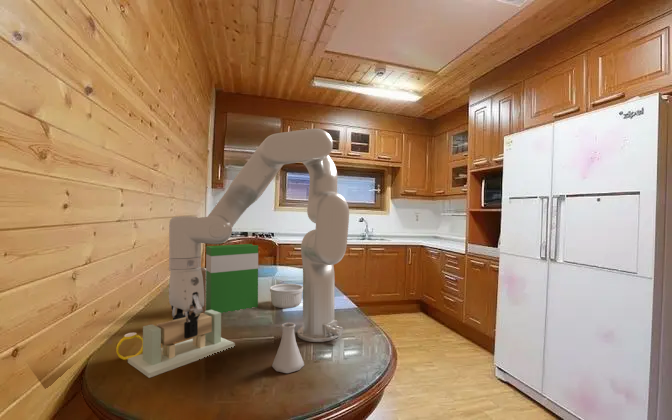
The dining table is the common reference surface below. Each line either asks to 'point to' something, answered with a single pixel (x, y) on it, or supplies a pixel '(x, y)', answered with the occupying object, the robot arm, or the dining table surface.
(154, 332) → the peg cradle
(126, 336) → the watch
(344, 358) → the dining table surface
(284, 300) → the ramekin
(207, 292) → the green cereal box
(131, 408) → the dining table surface
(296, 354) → the flask
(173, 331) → the tan wooden bar
